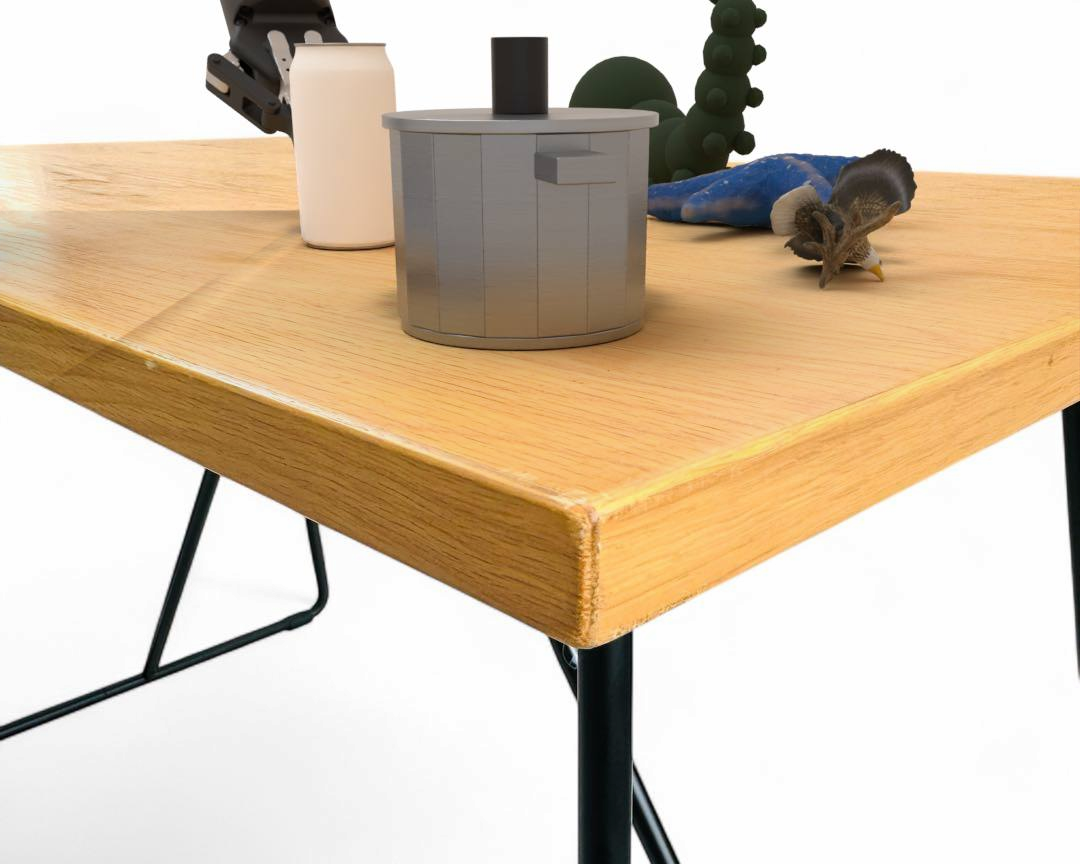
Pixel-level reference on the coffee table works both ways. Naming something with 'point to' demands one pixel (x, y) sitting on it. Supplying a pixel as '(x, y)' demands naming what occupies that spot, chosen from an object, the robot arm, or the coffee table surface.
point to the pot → (520, 237)
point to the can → (343, 144)
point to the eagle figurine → (846, 213)
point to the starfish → (745, 189)
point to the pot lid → (519, 102)
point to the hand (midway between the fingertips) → (325, 171)
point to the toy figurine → (719, 97)
